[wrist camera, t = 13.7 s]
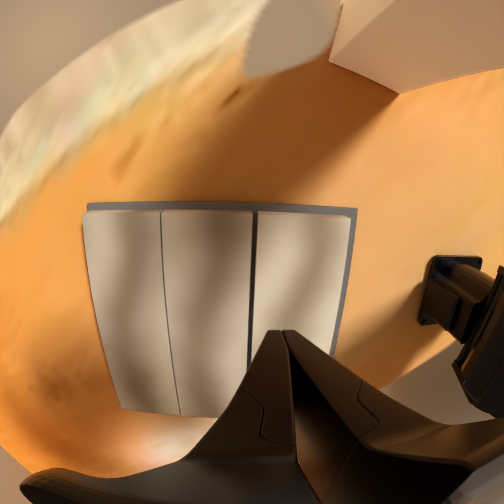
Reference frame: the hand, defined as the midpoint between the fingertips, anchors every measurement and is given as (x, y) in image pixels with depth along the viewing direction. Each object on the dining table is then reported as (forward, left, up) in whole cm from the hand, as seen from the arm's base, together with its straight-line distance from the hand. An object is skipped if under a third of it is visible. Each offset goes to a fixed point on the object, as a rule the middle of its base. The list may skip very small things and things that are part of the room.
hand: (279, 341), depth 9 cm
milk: (-8, -15, -12) cm, 21 cm away
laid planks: (+6, +7, -12) cm, 15 cm away
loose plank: (-3, +7, -12) cm, 14 cm away
